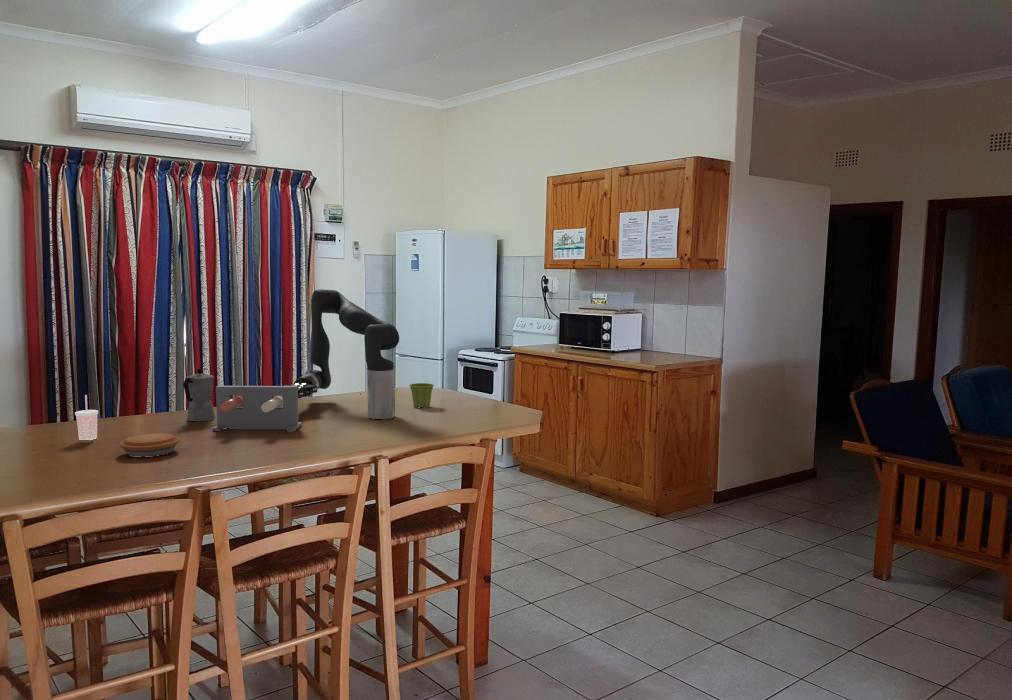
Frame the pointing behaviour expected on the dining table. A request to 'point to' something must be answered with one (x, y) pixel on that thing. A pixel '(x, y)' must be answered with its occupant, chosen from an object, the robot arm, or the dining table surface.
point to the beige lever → (272, 404)
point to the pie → (149, 444)
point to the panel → (258, 408)
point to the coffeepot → (199, 396)
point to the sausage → (232, 403)
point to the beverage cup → (87, 423)
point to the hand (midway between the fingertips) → (293, 392)
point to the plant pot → (421, 394)
